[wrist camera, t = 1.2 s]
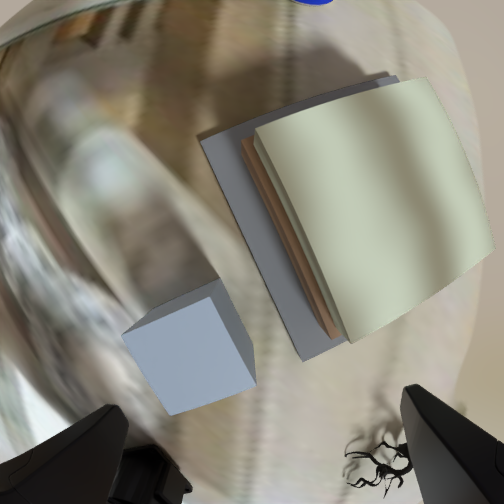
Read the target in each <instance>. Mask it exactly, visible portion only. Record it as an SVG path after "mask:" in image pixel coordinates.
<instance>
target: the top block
mask: <svg viewBox="0 0 504 504" xmlns="http://www.w3.org/2000/svg"><path fill="white" fill-rule="evenodd" d="M121 337H122V338H123V340H124V342H125V344H126V346H127V348H128V349H129V351H130V353H131V355H132V357H133V358H134V360H135V362H136V363H137V365H138V367H139V369H140V370H141V372H142V374H143V375H144V377H145V378H146V380H147V382H148V383H149V385H150V386H151V388H152V390H153V391H154V393H155V394H156V396H157V397H158V399H159V400H160V402H161V403H162V405H163V406H164V408H165V409H166V411H167V412H168V414H169V415H170V416H171V415H175V414H178V413H181V412H185V411H188V410H191V409H194V408H197V407H200V406H203V405H206V404H209V403H212V402H215V401H218V400H221V399H223V398H226V397H229V396H232V395H234V394H237V393H240V392H242V391H245V390H247V389H250V388H253V387H255V386H257V384H256V373H255V361H254V349H253V343H252V341H251V339H250V337H249V335H248V333H247V331H246V329H245V327H244V325H243V323H242V321H241V319H240V317H239V315H238V313H237V311H236V309H235V307H234V305H233V303H232V301H231V299H230V297H229V295H228V293H227V291H226V289H225V286H224V284H223V282H222V280H221V278H219V279H217V280H214V281H212V282H210V283H208V284H206V285H203V286H201V287H199V288H197V289H195V290H193V291H190V292H188V293H186V294H184V295H182V296H179V297H177V298H175V299H173V300H171V301H168V302H166V303H164V304H162V305H160V306H157V307H155V308H154V309H152V310H151V311H150V312H149V313H148V314H146V315H145V316H144V317H143V318H141V319H140V320H139V321H138V322H137V323H135V324H134V325H133V326H132V327H131V328H129V329H128V330H127V331H126V332H124V333H123V334H122V335H121Z"/></svg>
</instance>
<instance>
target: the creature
mask: <svg viewBox="0 0 504 504" xmlns="http://www.w3.org/2000/svg"><path fill="white" fill-rule="evenodd" d="M381 445H385V446H386V447H387V448H392V449H395V450H396V451H398V452H400V453H401V454H402V455H403V456H402V455H401V454H400V453H397V454H396V455H395V458H396V456H397V455H398V456H399V457H400V458H403V457H405V458H407V459H408V461H409V462H408V465H407V467H405V468H404V469H402V470H395V469H393V468H391V467H390V466H388V465H386V464H381V463H379V462H378V461H377V460H376V459H375V458H374V457H373V456H372V455H371V454H370V453H366V452H351V453H347V454H346V455H345V457H347V455H348V454H353V453H357V454H361V455H366V456H365V457H353V458H370V459H371V460H372V461H373V462H374V463H375V464H376V465H378V466H377V468H376V478H375V480H376V479H377V476H378V473H379V472H380V473H379V477H381V480H382V477H383V476H384V479H385V476H386V475H387V474H394V475H395V476H394V477H392V479H391V478H388V479H391V481H392V480H393V479H394V478H399V479H400V483H399V485H398V488H399V487H401V486H402V484H403V482H404V481H403V479H402V477H401V476H402V475H404V474H406V473H408V472H410V471H411V469H412V468H413V465H412V462H411V458H410V455H409V450H408V446H407V443H404V444H399V446H398V447H392V446H389V445H388V444H387V443H386V442H385V441H384V442H382V443H381V444H380V445H379V446H378V447H380V446H381ZM378 447H376V448H378ZM376 448H374V449H376ZM371 451H372V450H371ZM371 451H370V452H371ZM395 458H394V460H395ZM393 462H394V461H393ZM391 463H392V462H391ZM375 480H374V481H375ZM381 480H380V482H381ZM361 481H363V482H364V483H363V484H362V485H361V486H360V487H357V488H361V487H363V486H365V485H366V484H368V485H369V486H372V487H374V486H377V485H378V484H379V483H380V482H379V483H378V484H376V485H375V484H372V483H373V482H374V481H371V482H369V481H367V480H365V479H364V478H360V479H359V480H358V481H357V483H356V484H351V486H354V485H357V484H359V483H360V482H361ZM347 484H350V483H347ZM390 484H391V482H390ZM385 486H386V485H385ZM354 487H356V486H354ZM389 487H390V485H389ZM389 487H388V489H389ZM388 489H386V491H385V495H386V493H387V491H388ZM384 497H385V496H384Z"/></svg>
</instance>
